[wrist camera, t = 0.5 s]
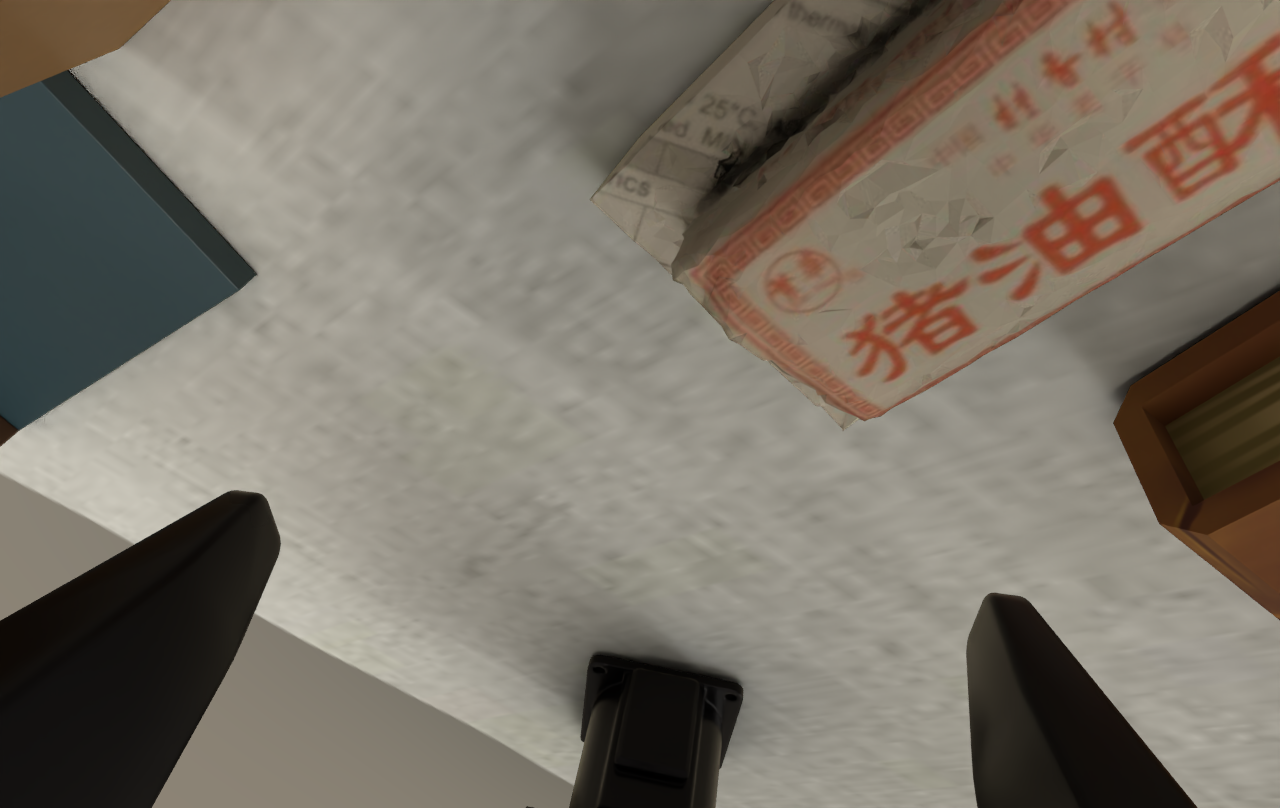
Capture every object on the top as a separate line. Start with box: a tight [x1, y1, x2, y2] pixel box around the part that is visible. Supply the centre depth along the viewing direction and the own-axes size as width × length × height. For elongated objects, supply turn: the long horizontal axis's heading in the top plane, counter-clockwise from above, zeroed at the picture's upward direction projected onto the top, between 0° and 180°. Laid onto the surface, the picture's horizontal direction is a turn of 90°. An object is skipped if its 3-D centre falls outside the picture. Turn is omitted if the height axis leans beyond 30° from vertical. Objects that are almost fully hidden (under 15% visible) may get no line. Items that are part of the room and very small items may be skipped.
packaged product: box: [590, 0, 1280, 431], centre depth 17 cm, size 18×5×10 cm
